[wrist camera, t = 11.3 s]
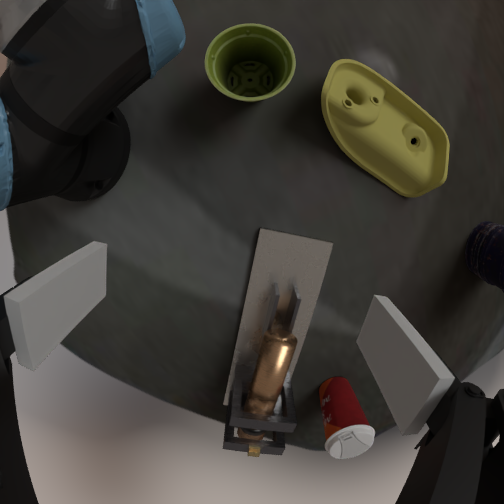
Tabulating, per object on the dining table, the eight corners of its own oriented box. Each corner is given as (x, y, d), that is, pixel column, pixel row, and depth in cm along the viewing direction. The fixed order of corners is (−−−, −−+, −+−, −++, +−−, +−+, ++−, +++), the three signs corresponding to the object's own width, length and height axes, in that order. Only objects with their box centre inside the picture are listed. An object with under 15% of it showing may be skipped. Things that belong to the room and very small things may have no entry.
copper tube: (262, 326, 39) (263, 345, 35) (295, 331, 39) (300, 350, 35) (237, 422, 45) (236, 441, 40) (263, 425, 45) (264, 445, 40)
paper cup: (306, 383, 47) (319, 445, 34) (347, 365, 46) (371, 423, 33) (321, 408, 49) (334, 466, 36) (359, 392, 48) (381, 447, 35)
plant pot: (284, 49, 33) (291, 22, 25) (289, 113, 36) (299, 99, 27) (213, 53, 33) (203, 27, 25) (216, 117, 36) (206, 104, 27)
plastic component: (450, 134, 33) (445, 189, 31) (418, 150, 40) (408, 201, 38) (339, 47, 29) (318, 94, 28) (315, 77, 36) (292, 125, 35)
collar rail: (260, 227, 40) (263, 258, 27) (331, 241, 40) (364, 277, 27) (223, 401, 49) (216, 459, 36) (277, 409, 49) (282, 466, 36)
